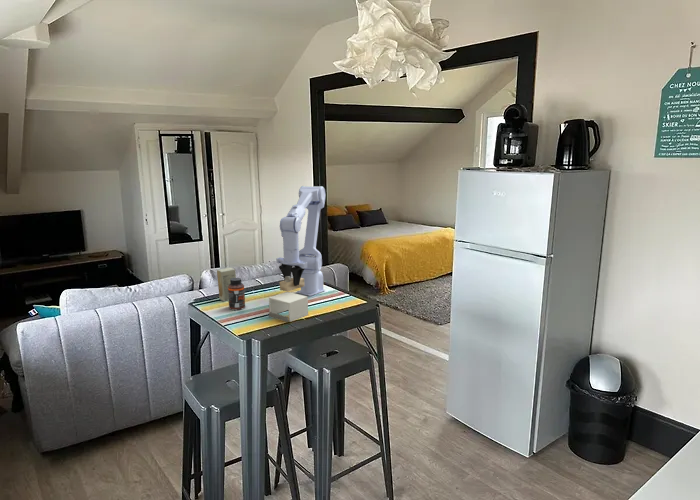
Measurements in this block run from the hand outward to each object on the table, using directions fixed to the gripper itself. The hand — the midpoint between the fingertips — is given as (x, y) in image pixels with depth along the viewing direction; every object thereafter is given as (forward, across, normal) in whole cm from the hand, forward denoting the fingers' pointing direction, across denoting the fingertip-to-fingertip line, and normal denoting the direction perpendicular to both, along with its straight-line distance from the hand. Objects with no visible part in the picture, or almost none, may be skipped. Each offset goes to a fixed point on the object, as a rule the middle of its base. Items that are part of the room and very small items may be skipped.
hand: (292, 284), depth 182 cm
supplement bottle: (+9, -15, -15) cm, 23 cm away
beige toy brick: (+1, 0, 0) cm, 1 cm away
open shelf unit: (+8, +7, -9) cm, 14 cm away
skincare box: (+9, -27, -10) cm, 30 cm away
